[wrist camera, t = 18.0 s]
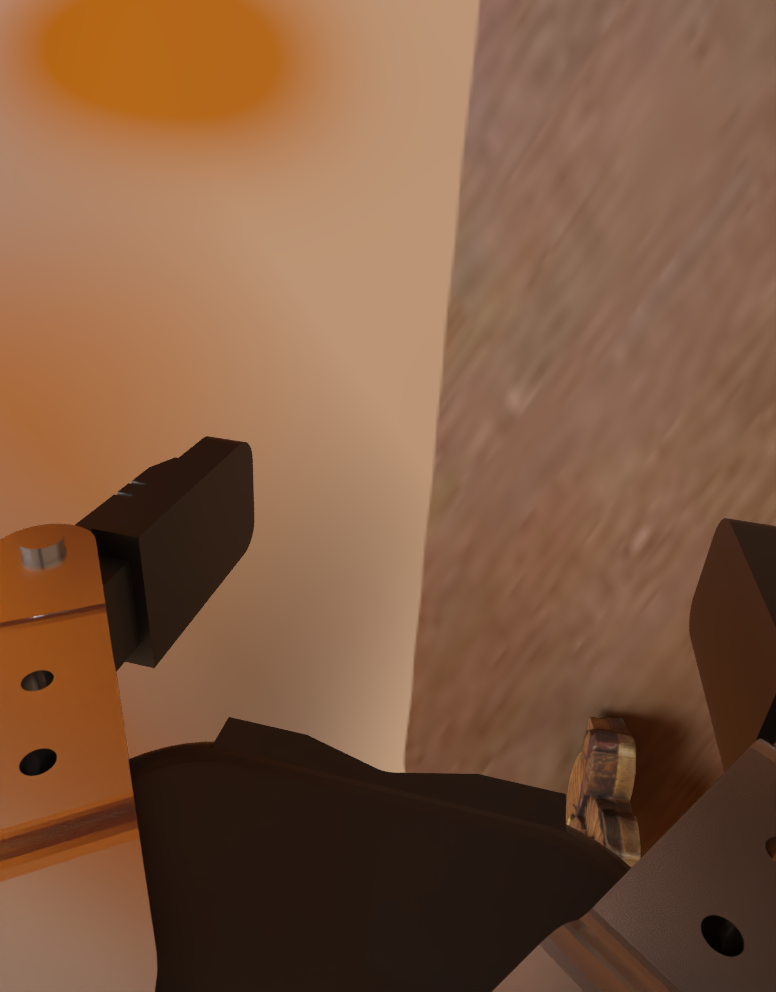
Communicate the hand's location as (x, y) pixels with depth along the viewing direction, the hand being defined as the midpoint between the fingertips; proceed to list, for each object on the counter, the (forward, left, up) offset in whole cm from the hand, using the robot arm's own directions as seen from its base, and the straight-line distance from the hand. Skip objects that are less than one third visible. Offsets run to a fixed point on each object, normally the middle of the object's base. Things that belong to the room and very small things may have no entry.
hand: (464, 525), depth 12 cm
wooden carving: (+35, +10, -28) cm, 46 cm away
